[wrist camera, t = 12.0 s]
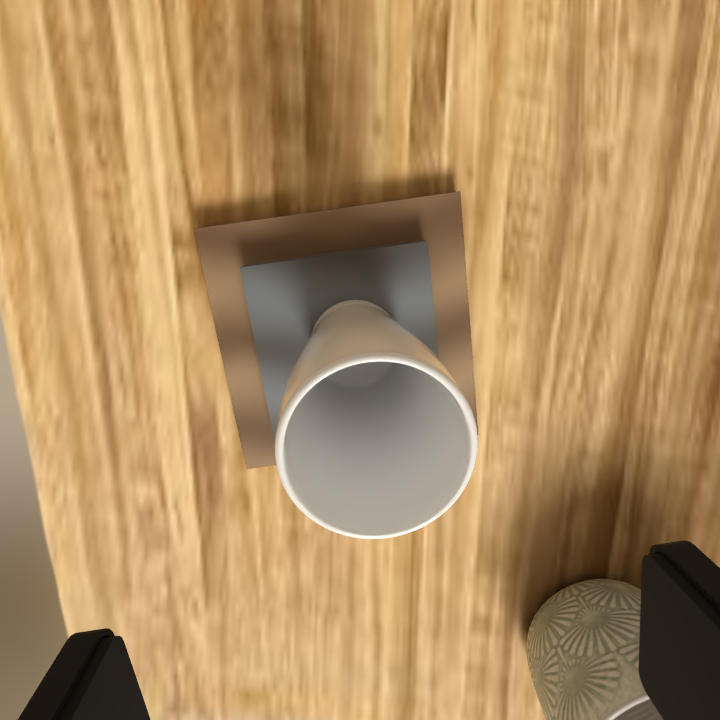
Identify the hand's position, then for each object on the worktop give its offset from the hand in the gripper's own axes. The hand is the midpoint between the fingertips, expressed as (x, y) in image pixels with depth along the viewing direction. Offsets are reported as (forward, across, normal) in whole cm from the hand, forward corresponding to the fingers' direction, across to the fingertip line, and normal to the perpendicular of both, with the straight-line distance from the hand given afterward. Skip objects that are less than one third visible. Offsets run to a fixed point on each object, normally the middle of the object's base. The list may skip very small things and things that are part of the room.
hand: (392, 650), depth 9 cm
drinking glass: (+23, 0, 0) cm, 23 cm away
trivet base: (+25, 0, 0) cm, 25 cm away
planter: (+25, -16, +27) cm, 40 cm away
